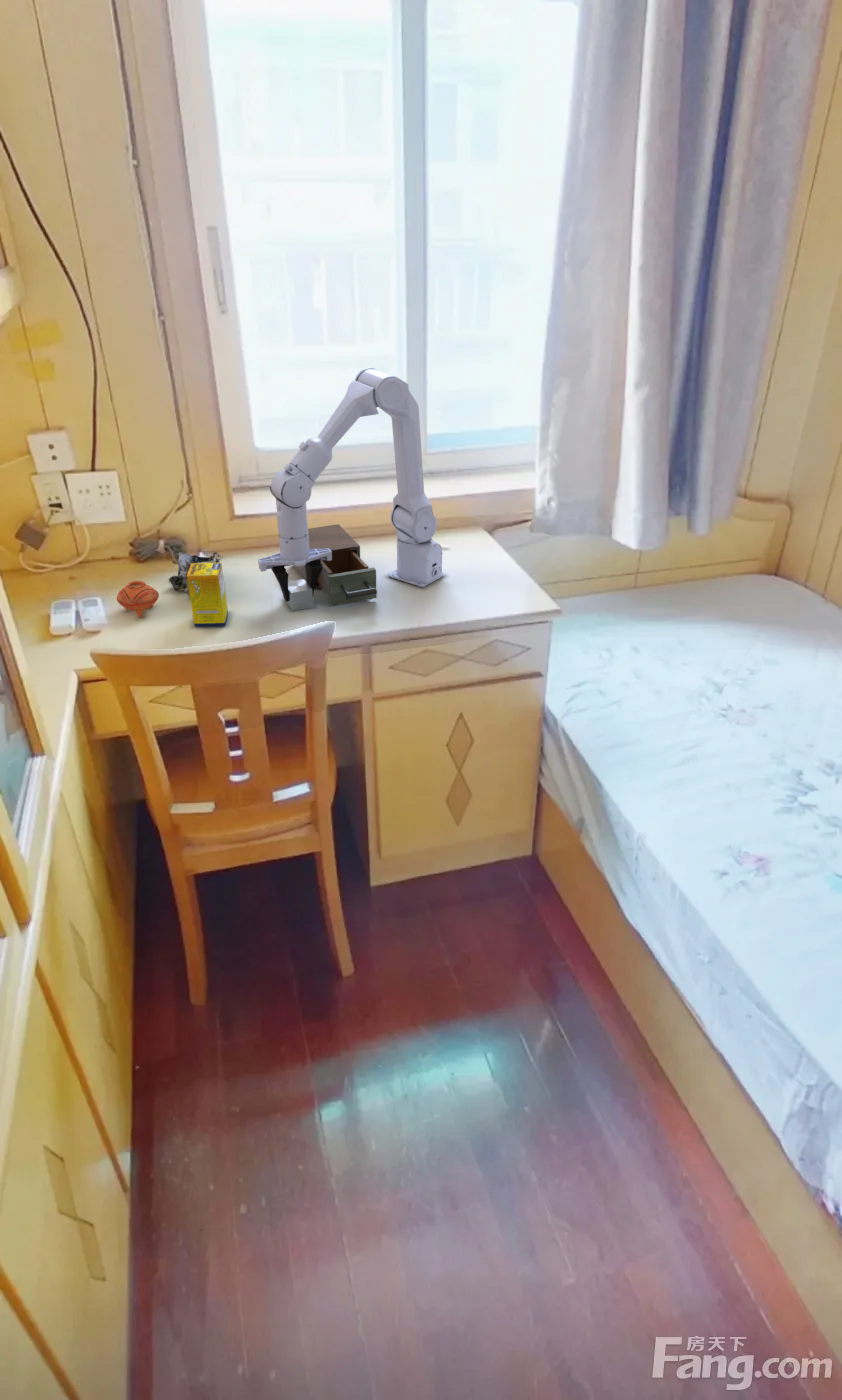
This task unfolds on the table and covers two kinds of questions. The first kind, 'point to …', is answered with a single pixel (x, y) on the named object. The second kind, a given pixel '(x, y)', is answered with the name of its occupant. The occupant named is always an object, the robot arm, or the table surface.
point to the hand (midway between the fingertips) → (298, 597)
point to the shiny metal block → (300, 595)
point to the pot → (137, 597)
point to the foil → (184, 565)
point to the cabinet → (329, 543)
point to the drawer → (347, 579)
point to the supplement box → (207, 594)
